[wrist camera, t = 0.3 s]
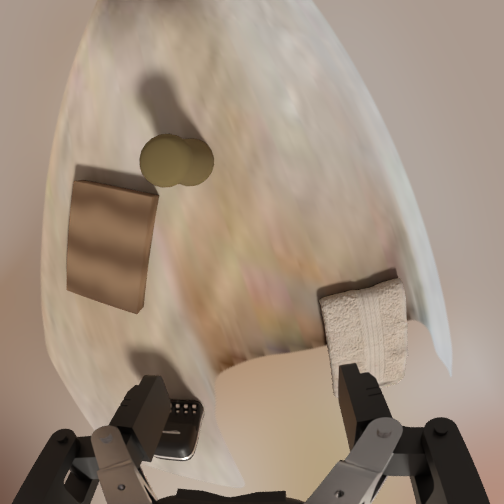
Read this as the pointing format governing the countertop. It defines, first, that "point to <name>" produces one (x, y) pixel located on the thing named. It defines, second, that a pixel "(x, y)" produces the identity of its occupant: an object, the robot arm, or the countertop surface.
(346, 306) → the washcloth
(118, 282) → the walnut board
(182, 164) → the cork
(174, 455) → the battery charger
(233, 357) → the countertop surface
